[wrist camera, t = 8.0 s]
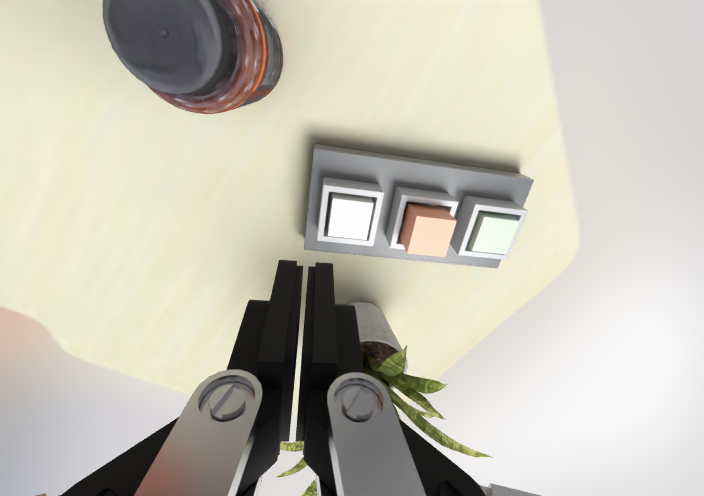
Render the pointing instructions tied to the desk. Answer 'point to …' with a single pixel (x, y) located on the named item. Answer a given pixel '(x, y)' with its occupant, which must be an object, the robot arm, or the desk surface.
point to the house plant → (389, 381)
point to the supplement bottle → (197, 50)
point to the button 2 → (427, 230)
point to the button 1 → (349, 215)
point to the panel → (409, 201)
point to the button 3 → (492, 232)
